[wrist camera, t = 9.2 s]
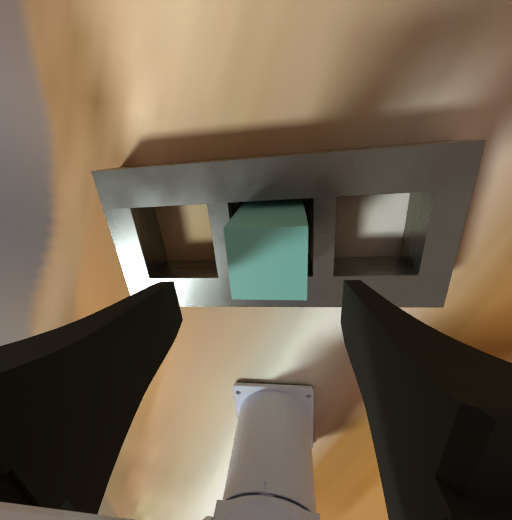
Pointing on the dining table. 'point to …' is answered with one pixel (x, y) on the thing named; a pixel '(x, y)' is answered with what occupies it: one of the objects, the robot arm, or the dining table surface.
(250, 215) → the square peg
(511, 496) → the robot arm
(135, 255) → the rail
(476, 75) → the dining table surface
